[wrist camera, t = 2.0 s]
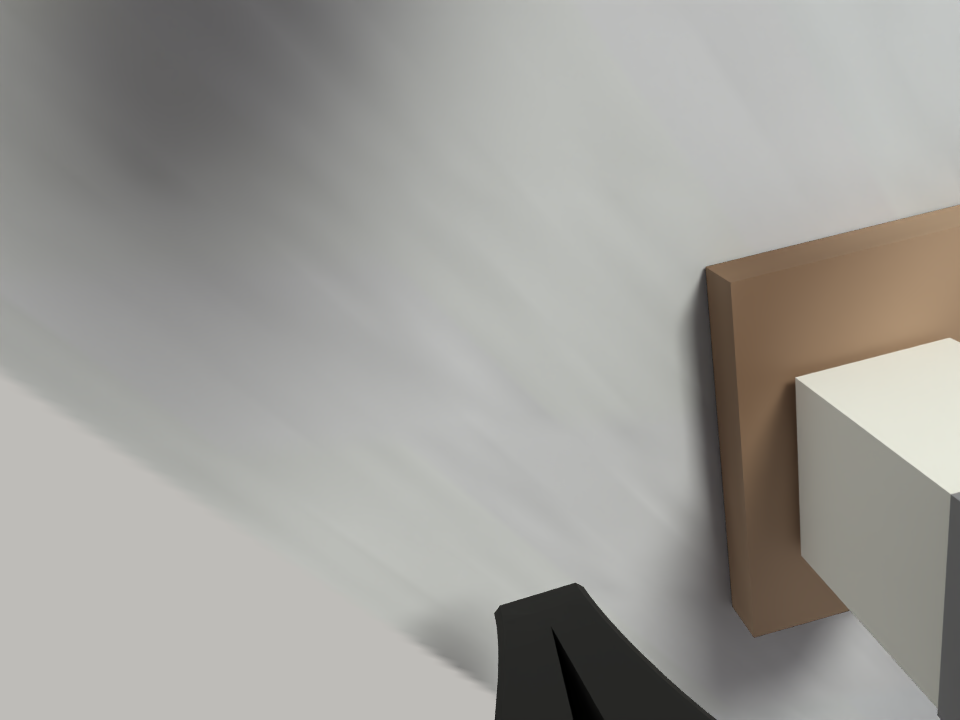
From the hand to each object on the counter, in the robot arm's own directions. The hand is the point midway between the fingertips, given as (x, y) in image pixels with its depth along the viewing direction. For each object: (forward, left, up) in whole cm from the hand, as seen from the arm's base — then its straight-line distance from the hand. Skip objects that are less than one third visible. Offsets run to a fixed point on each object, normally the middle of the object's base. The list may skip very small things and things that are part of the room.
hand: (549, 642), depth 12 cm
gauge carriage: (-7, +1, -3) cm, 7 cm away
